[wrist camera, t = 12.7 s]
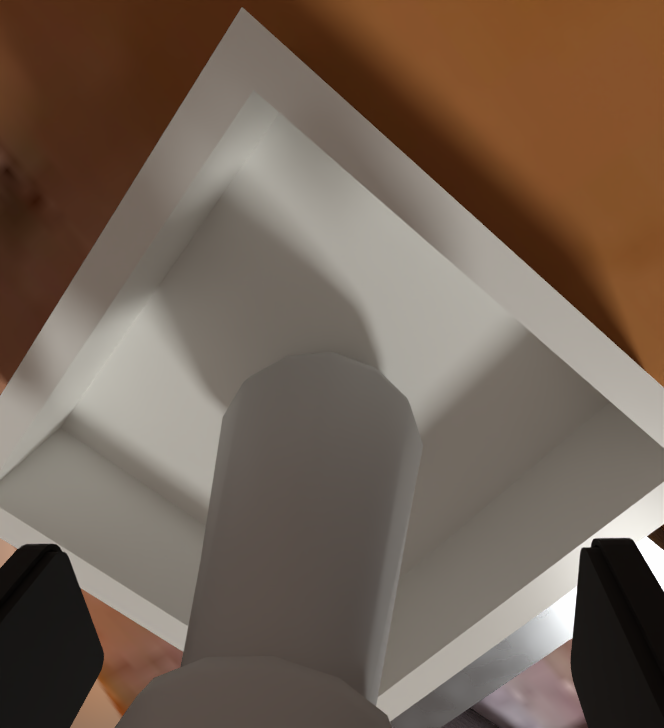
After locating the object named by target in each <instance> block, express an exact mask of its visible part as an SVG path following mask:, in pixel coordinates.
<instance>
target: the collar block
mask: <svg viewBox="0 0 664 728" xmlns="http://www.w3.org/2000/svg"><path fill="white" fill-rule="evenodd" d="M636 545H637V546H638V548H639V550H640V552H641V553H642V555H643V557H644V558H645V560H646V562H647V563H648V565H649V567H650V569H651V570H652V572H653V574H654V575H655V577H656V579H657V580H658V582H659V584H660V586H661V587H662V589H663V591H664V531H663V530H662V529H661V528H660V527H659V528H657V529H656V530H655V531H653V532H652V533H651V534H649V535H648V536H646V537H645V538H644V539H642V540H641V541H639V542H638V543H637V544H636ZM576 593H577V587H576V588H574V589H573V590H572V591H570V592H569V593H567V594H566V595H565V596H563V597H562V598H561V599H559V600H558V601H556V602H555V603H554V604H552V605H551V606H549V607H548V608H547V609H545V610H544V611H543V612H541V613H540V614H538V615H537V616H536V617H534V618H533V619H531V620H530V621H529V622H527V623H526V624H525V625H523V626H522V627H520V628H519V629H518V630H516V631H515V632H513V633H512V634H511V635H509V636H508V637H507V638H505V639H504V640H502V641H501V642H500V643H498V644H497V645H495V646H494V647H493V648H491V649H490V650H489V651H487V652H486V653H484V654H483V655H482V656H480V657H479V658H477V659H476V660H475V661H473V662H472V663H471V664H469V665H468V666H466V667H465V668H464V669H462V670H461V671H459V672H458V673H457V674H455V675H454V676H453V677H451V678H450V679H448V680H447V681H446V682H444V683H443V684H441V685H440V686H439V687H437V688H436V689H435V690H433V691H432V692H430V693H429V694H428V695H426V696H425V697H423V698H422V699H421V700H419V701H418V702H417V703H415V704H414V705H412V706H411V707H410V708H408V709H407V710H405V711H404V712H403V713H401V714H400V715H399V716H397V717H396V718H394V719H393V720H392V721H390V723H391V725H392V728H499V727H497V726H496V725H494V724H493V723H491V722H490V721H488V720H487V719H485V718H484V717H482V716H481V715H479V714H478V713H476V712H475V711H474V710H472V709H471V708H470V707H472V706H473V705H475V704H476V703H478V702H479V701H480V700H482V699H483V698H485V697H486V696H488V695H489V694H491V693H492V692H494V691H495V690H497V689H498V688H499V687H501V686H502V685H504V684H505V683H507V682H508V681H510V680H511V679H513V678H514V677H516V676H517V675H519V674H520V673H521V672H523V671H524V670H526V669H527V668H529V667H530V666H532V665H533V664H535V663H536V662H538V661H539V660H540V659H542V658H543V657H545V656H546V655H548V654H549V653H551V652H552V651H554V650H555V649H557V648H558V647H559V646H561V645H562V644H564V643H565V642H567V641H568V640H570V639H571V638H573V627H574V616H575V604H576Z"/></svg>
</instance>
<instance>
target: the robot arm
mask: <svg viewBox="0 0 664 728" xmlns="http://www.w3.org/2000/svg"><path fill="white" fill-rule="evenodd" d="M103 660H104V653H103V649H102V646H101V643H100V641H99V638H98V635H97V633H96V630H95V627H94V624H93V622H92V619H91V616H90V613H89V611H88V608H87V605H86V603H85V600H84V597H83V594H82V592H81V589H80V586H79V583H78V581H77V578H76V575H75V573H74V570H73V567H72V564H71V562H70V559H69V557H68V555H67V553H65V552H62V550H61V548H60V547H59V546H58V545H57V544H25V545H22V546H21V547H20V548H18V549H17V550H16V551H15V552H14V554H13V555H12V556H11V557H10V558H9V559H8V560H7V561H6V563H4V565H3V566H2V567H1V568H0V728H70V726H71V725H72V723H73V721H74V719H75V717H76V716H77V714H78V712H79V710H80V708H81V706H82V705H83V703H84V701H85V699H86V697H87V695H88V693H89V692H90V690H91V688H92V686H93V685H94V683H95V681H96V679H97V677H98V675H99V673H100V671H101V669H102V665H103ZM571 672H572V677H573V682H574V685H575V688H576V692H577V695H578V698H579V701H580V704H581V707H582V710H583V713H584V716H585V719H586V722H587V725H588V728H664V591H663V589H662V587H661V586H660V584H659V582H658V580H657V579H656V577H655V575H654V574H653V572H652V570H651V569H650V567H649V565H648V563H647V562H646V560H645V558H644V557H643V555H642V553H641V552H640V550H639V548H638V546H637V545H636V543H635V542H634V541H633V540H632V539H631V538H595V539H593V540H592V543H591V547H583V548H581V551H580V559H579V570H578V582H577V593H576V604H575V616H574V627H573V638H572V650H571Z"/></svg>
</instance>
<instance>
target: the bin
mask: <svg viewBox="0 0 664 728" xmlns="http://www.w3.org/2000/svg"><path fill="white" fill-rule="evenodd" d="M325 352H335V353H337V354H340V355H343V356H345V357H348V358H351V359H353V360H356V361H359V362H362V363H364V364H367V365H370V366H372V367H375V368H377V369H378V370H379V371H380V372H381V373H382V374H383V375H384V376H385V377H386V378H387V379H388V380H389V381H390V382H391V383H392V384H393V385H394V386H395V387H396V388H397V389H398V390H399V391H400V392H401V393H402V394H403V395H405V396H406V397H407V399H408V401H409V403H410V406H411V409H412V412H413V415H414V418H415V421H416V425H417V428H418V431H419V434H420V437H421V440H422V443H423V449H422V454H421V459H420V464H419V469H418V474H417V479H416V484H415V489H414V495H413V501H412V506H411V512H410V517H409V523H408V529H407V534H406V540H405V546H404V551H403V557H402V563H401V568H400V574H399V580H398V585H397V591H396V597H395V602H394V608H393V614H392V619H391V625H390V631H389V636H388V642H387V648H386V653H385V659H384V665H383V670H382V676H381V682H380V687H379V693H378V699H377V704H376V707H377V708H379V709H380V710H381V711H383V712H384V713H385V714H386V715H387V716H388V718H389V721H392V720H393V719H394V718H396V717H397V716H399V715H400V714H401V713H403V712H404V711H405V710H407V709H408V708H410V707H411V706H412V705H414V704H415V703H417V702H418V701H419V700H421V699H422V698H423V697H425V696H426V695H428V694H429V693H430V692H432V691H433V690H435V689H436V688H437V687H439V686H440V685H441V684H443V683H444V682H446V681H447V680H448V679H450V678H451V677H453V676H454V675H455V674H457V673H458V672H459V671H461V670H462V669H464V668H465V667H466V666H468V665H469V664H471V663H472V662H473V661H475V660H476V659H477V658H479V657H480V656H482V655H483V654H484V653H486V652H487V651H489V650H490V649H491V648H493V647H494V646H495V645H497V644H498V643H500V642H501V641H502V640H504V639H505V638H507V637H508V636H509V635H511V634H512V633H513V632H515V631H516V630H518V629H519V628H520V627H522V626H523V625H525V624H526V623H527V622H529V621H530V620H531V619H533V618H534V617H536V616H537V615H538V614H540V613H541V612H543V611H544V610H545V609H547V608H548V607H549V606H551V605H552V604H554V603H555V602H556V601H558V600H559V599H561V598H562V597H563V596H565V595H566V594H567V593H569V592H570V591H572V590H573V589H574V588H576V587H577V582H578V570H579V559H580V551H581V548H583V547H591V543H592V540H593V539H595V538H631V539H632V540H633V541H634V542H635V543H636V544H637V543H638V542H639V541H641V540H642V539H644V538H645V537H646V536H648V535H649V534H651V533H652V532H653V531H655V530H656V529H657V528H659V527H660V526H662V525H663V524H664V388H663V387H662V386H661V385H660V384H659V383H658V382H657V381H656V380H654V379H653V378H652V377H651V376H650V375H649V374H648V373H647V372H646V371H645V370H643V369H642V368H641V367H640V366H639V365H638V364H637V363H636V362H635V361H633V360H632V359H631V358H630V357H629V356H628V355H627V354H626V353H625V352H623V351H622V350H621V349H620V348H619V347H618V346H617V345H616V344H615V343H614V342H612V341H611V340H610V339H609V338H608V337H607V336H606V335H605V334H604V333H602V332H601V331H600V330H599V329H598V328H597V327H596V326H595V325H594V324H592V323H591V322H590V321H589V320H588V319H587V318H586V317H585V316H584V315H583V314H581V313H580V312H579V311H578V310H577V309H576V308H575V307H574V306H573V305H571V304H570V303H569V302H568V301H567V300H566V299H565V298H564V297H563V296H561V295H560V294H559V293H558V292H557V291H556V290H555V289H554V288H553V287H552V286H550V285H549V284H548V283H547V282H546V281H545V280H544V279H543V278H542V277H540V276H539V275H538V274H537V273H536V272H535V271H534V270H533V269H532V268H530V267H529V266H528V265H527V264H526V263H525V262H524V261H523V260H522V259H521V258H519V257H518V256H517V255H516V254H515V253H514V252H513V251H512V250H511V249H509V248H508V247H507V246H506V245H505V244H504V243H503V242H502V241H501V240H500V239H498V238H497V237H496V236H495V235H494V234H493V233H492V232H491V231H490V230H488V229H487V228H486V227H485V226H484V225H483V224H482V223H481V222H480V221H478V220H477V219H476V218H475V217H474V216H473V215H472V214H471V213H470V212H469V211H467V210H466V209H465V208H464V207H463V206H462V205H461V204H460V203H459V202H457V201H456V200H455V199H454V198H453V197H452V196H451V195H450V194H449V193H447V192H446V191H445V190H444V189H443V188H442V187H441V186H440V185H439V184H438V183H436V182H435V181H434V180H433V179H432V178H431V177H430V176H429V175H428V174H426V173H425V172H424V171H423V170H422V169H421V168H420V167H419V166H418V165H416V164H415V163H414V162H413V161H412V160H411V159H410V158H409V157H408V156H407V155H405V154H404V153H403V152H402V151H401V150H400V149H399V148H398V147H397V146H395V145H394V144H393V143H392V142H391V141H390V140H389V139H388V138H387V137H385V136H384V135H383V134H382V133H381V132H380V131H379V130H378V129H377V128H376V127H374V126H373V125H372V124H371V123H370V122H369V121H368V120H367V119H366V118H364V117H363V116H362V115H361V114H360V113H359V112H358V111H357V110H356V109H354V108H353V107H352V106H351V105H350V104H349V103H348V102H347V101H346V100H345V99H343V98H342V97H341V96H340V95H339V94H338V93H337V92H336V91H335V90H333V89H332V88H331V87H330V86H329V85H328V84H327V83H326V82H325V81H323V80H322V79H321V78H320V77H319V76H318V75H317V74H316V73H315V72H314V71H312V70H311V69H310V68H309V67H308V66H307V65H306V64H305V63H304V62H302V61H301V60H300V59H299V58H298V57H297V56H296V55H295V54H294V53H292V52H291V51H290V50H289V49H288V48H287V47H286V46H285V45H284V44H283V43H281V42H280V41H279V40H278V39H277V38H276V37H275V36H274V35H273V34H271V33H270V32H269V31H268V30H267V29H266V28H265V27H264V26H263V25H262V24H260V23H259V22H258V21H257V20H256V19H255V18H254V17H253V16H252V15H250V14H249V13H248V12H247V11H246V10H245V9H244V8H243V7H241V9H240V11H239V12H238V14H237V15H236V17H235V19H234V20H233V22H232V24H231V25H230V27H229V28H228V30H227V32H226V33H225V35H224V36H223V38H222V40H221V41H220V43H219V44H218V46H217V48H216V49H215V51H214V53H213V54H212V56H211V57H210V59H209V61H208V62H207V64H206V65H205V67H204V69H203V70H202V72H201V73H200V75H199V77H198V78H197V80H196V82H195V83H194V85H193V86H192V88H191V90H190V91H189V93H188V94H187V96H186V98H185V99H184V101H183V102H182V104H181V106H180V107H179V109H178V111H177V112H176V114H175V115H174V117H173V119H172V120H171V122H170V123H169V125H168V127H167V128H166V130H165V131H164V133H163V135H162V136H161V138H160V140H159V141H158V143H157V144H156V146H155V148H154V149H153V151H152V152H151V154H150V156H149V157H148V159H147V160H146V162H145V164H144V165H143V167H142V169H141V170H140V172H139V173H138V175H137V177H136V178H135V180H134V181H133V183H132V185H131V186H130V188H129V189H128V191H127V193H126V194H125V196H124V198H123V199H122V201H121V202H120V204H119V206H118V207H117V209H116V210H115V212H114V214H113V215H112V217H111V218H110V220H109V222H108V223H107V225H106V227H105V228H104V230H103V231H102V233H101V235H100V236H99V238H98V239H97V241H96V243H95V244H94V246H93V247H92V249H91V251H90V252H89V254H88V255H87V257H86V259H85V260H84V262H83V264H82V265H81V267H80V268H79V270H78V272H77V273H76V275H75V276H74V278H73V280H72V281H71V283H70V284H69V286H68V288H67V289H66V291H65V293H64V294H63V296H62V297H61V299H60V301H59V302H58V304H57V305H56V307H55V309H54V310H53V312H52V313H51V315H50V317H49V318H48V320H47V322H46V323H45V325H44V326H43V328H42V330H41V331H40V333H39V334H38V336H37V338H36V339H35V341H34V342H33V344H32V346H31V347H30V349H29V351H28V352H27V354H26V355H25V357H24V359H23V360H22V362H21V363H20V365H19V367H18V368H17V370H16V371H15V373H14V375H13V376H12V378H11V380H10V381H9V383H8V384H7V386H6V388H5V389H4V391H3V392H2V394H1V396H0V538H1V539H3V540H4V541H6V542H8V543H9V544H11V545H12V546H14V547H16V548H17V549H18V548H20V547H21V546H22V545H25V544H57V545H58V546H59V547H60V548H61V550H62V552H65V553H67V555H68V557H69V559H70V562H71V564H72V567H73V570H74V573H75V575H76V578H77V581H78V583H79V586H80V588H82V589H83V590H85V591H86V592H88V593H90V594H91V595H93V596H94V597H96V598H98V599H99V600H101V601H102V602H104V603H106V604H107V605H109V606H111V607H112V608H114V609H115V610H117V611H119V612H120V613H122V614H123V615H125V616H127V617H128V618H130V619H131V620H133V621H135V622H136V623H138V624H139V625H141V626H143V627H144V628H146V629H148V630H149V631H151V632H152V633H154V634H156V635H157V636H159V637H160V638H162V639H164V640H165V641H167V642H168V643H170V644H172V645H173V646H175V647H176V648H178V649H180V650H181V651H183V652H184V646H185V641H186V636H187V630H188V625H189V620H190V614H191V609H192V603H193V598H194V593H195V587H196V582H197V577H198V571H199V566H200V560H201V554H202V547H203V541H204V534H205V528H206V521H207V515H208V508H209V502H210V495H211V489H212V483H213V476H214V470H215V463H216V457H217V450H218V444H219V437H220V431H221V424H222V418H223V416H224V414H225V412H226V411H227V409H228V407H229V405H230V404H231V402H232V400H233V399H234V397H235V395H236V394H237V392H238V390H239V389H240V387H241V385H242V383H243V382H244V381H245V380H246V379H248V378H249V377H250V376H252V375H254V374H255V373H257V372H259V371H261V370H263V369H265V368H266V367H268V366H270V365H272V364H274V363H276V362H278V361H279V360H281V359H283V358H285V357H287V356H292V355H303V354H314V353H325Z"/></svg>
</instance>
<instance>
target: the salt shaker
mask: <svg viewBox="0 0 664 728" xmlns="http://www.w3.org/2000/svg"><path fill="white" fill-rule="evenodd" d="M422 449H423V443H422V440H421V437H420V434H419V431H418V428H417V425H416V421H415V418H414V415H413V412H412V409H411V406H410V403H409V401H408V399H407V397H406V396H405V395H403V394H402V393H401V392H400V391H399V390H398V389H397V388H396V387H395V386H394V385H393V384H392V383H391V382H390V381H389V380H388V379H387V378H386V377H385V376H384V375H383V374H382V373H381V372H380V371H379V370H378V369H377V368H375V367H372V366H370V365H367V364H364V363H362V362H359V361H356V360H353V359H351V358H348V357H345V356H343V355H340V354H337V353H335V352H325V353H314V354H303V355H292V356H287V357H285V358H283V359H281V360H279V361H278V362H276V363H274V364H272V365H270V366H268V367H266V368H265V369H263V370H261V371H259V372H257V373H255V374H254V375H252V376H250V377H249V378H248V379H246V380H245V381H244V382H243V383H242V385H241V387H240V389H239V390H238V392H237V394H236V395H235V397H234V399H233V400H232V402H231V404H230V405H229V407H228V409H227V411H226V412H225V414H224V416H223V418H222V424H221V431H220V437H219V444H218V450H217V457H216V463H215V470H214V476H213V483H212V489H211V495H210V502H209V508H208V515H207V521H206V528H205V534H204V541H203V547H202V554H201V560H200V566H199V571H198V577H197V582H196V587H195V593H194V598H193V603H192V609H191V614H190V620H189V625H188V630H187V636H186V641H185V646H184V652H183V657H182V662H181V667H180V668H178V669H175V670H173V671H170V672H168V673H165V674H163V675H160V676H158V677H155V678H153V680H152V681H151V682H150V683H149V684H148V685H147V686H146V687H145V688H144V689H143V690H142V691H141V692H140V694H139V695H138V696H137V697H136V698H135V700H134V701H133V702H132V704H131V705H130V707H129V708H128V710H127V711H126V712H125V714H124V715H123V717H122V718H121V719H120V721H119V722H118V724H117V725H116V726H115V728H392V725H391V723H390V721H389V718H388V716H387V715H386V714H385V713H384V712H383V711H381V710H380V709H379V708H377V707H376V704H377V699H378V693H379V687H380V682H381V676H382V670H383V665H384V659H385V653H386V648H387V642H388V636H389V631H390V625H391V619H392V614H393V608H394V602H395V597H396V591H397V585H398V580H399V574H400V568H401V563H402V557H403V551H404V546H405V540H406V534H407V529H408V523H409V517H410V512H411V506H412V501H413V495H414V489H415V484H416V479H417V474H418V469H419V464H420V459H421V454H422Z"/></svg>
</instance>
